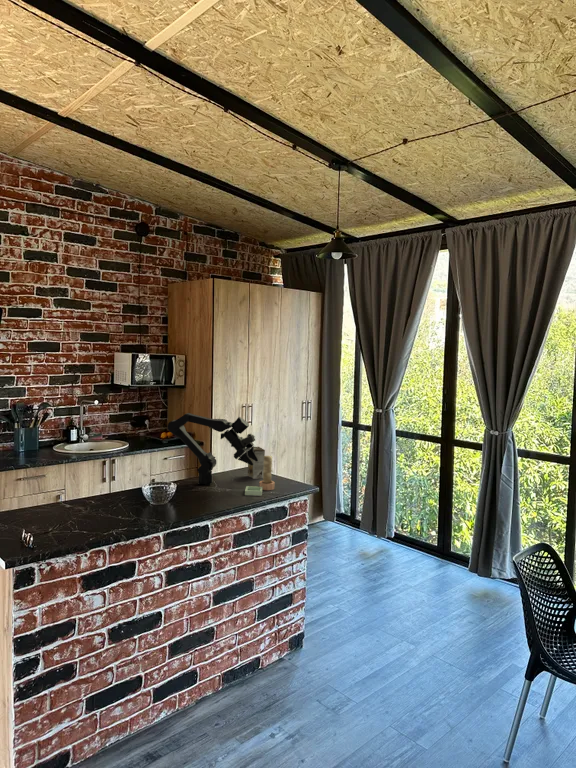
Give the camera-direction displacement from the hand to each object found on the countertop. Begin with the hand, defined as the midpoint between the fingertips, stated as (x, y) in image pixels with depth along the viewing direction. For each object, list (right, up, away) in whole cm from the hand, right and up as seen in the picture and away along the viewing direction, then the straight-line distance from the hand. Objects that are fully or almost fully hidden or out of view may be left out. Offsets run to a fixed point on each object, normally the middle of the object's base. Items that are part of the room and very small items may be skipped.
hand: (255, 462), depth 270 cm
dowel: (+6, -13, 0) cm, 14 cm away
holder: (+6, -13, 0) cm, 14 cm away
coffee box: (-1, -11, +22) cm, 25 cm away
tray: (0, -14, -10) cm, 17 cm away
